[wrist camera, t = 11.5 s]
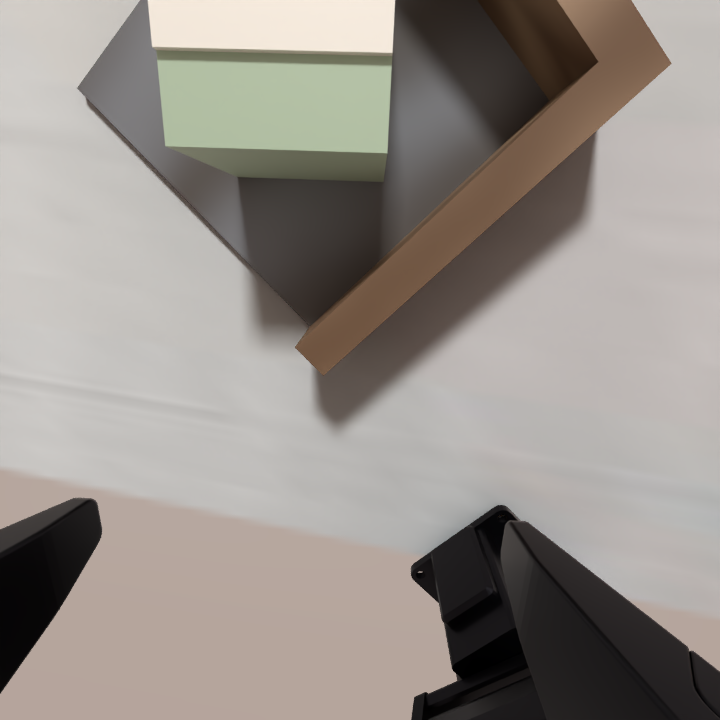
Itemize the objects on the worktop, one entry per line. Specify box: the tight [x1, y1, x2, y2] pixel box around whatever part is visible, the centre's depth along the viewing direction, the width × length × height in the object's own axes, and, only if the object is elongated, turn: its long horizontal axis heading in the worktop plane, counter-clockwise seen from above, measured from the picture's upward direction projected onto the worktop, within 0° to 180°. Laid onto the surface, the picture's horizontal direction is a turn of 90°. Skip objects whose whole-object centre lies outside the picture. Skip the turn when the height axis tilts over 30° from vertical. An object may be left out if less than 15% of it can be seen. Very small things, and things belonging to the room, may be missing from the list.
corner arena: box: [77, 0, 671, 376], centre depth 14 cm, size 14×14×4 cm
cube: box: [148, 0, 395, 182], centre depth 13 cm, size 6×6×6 cm
